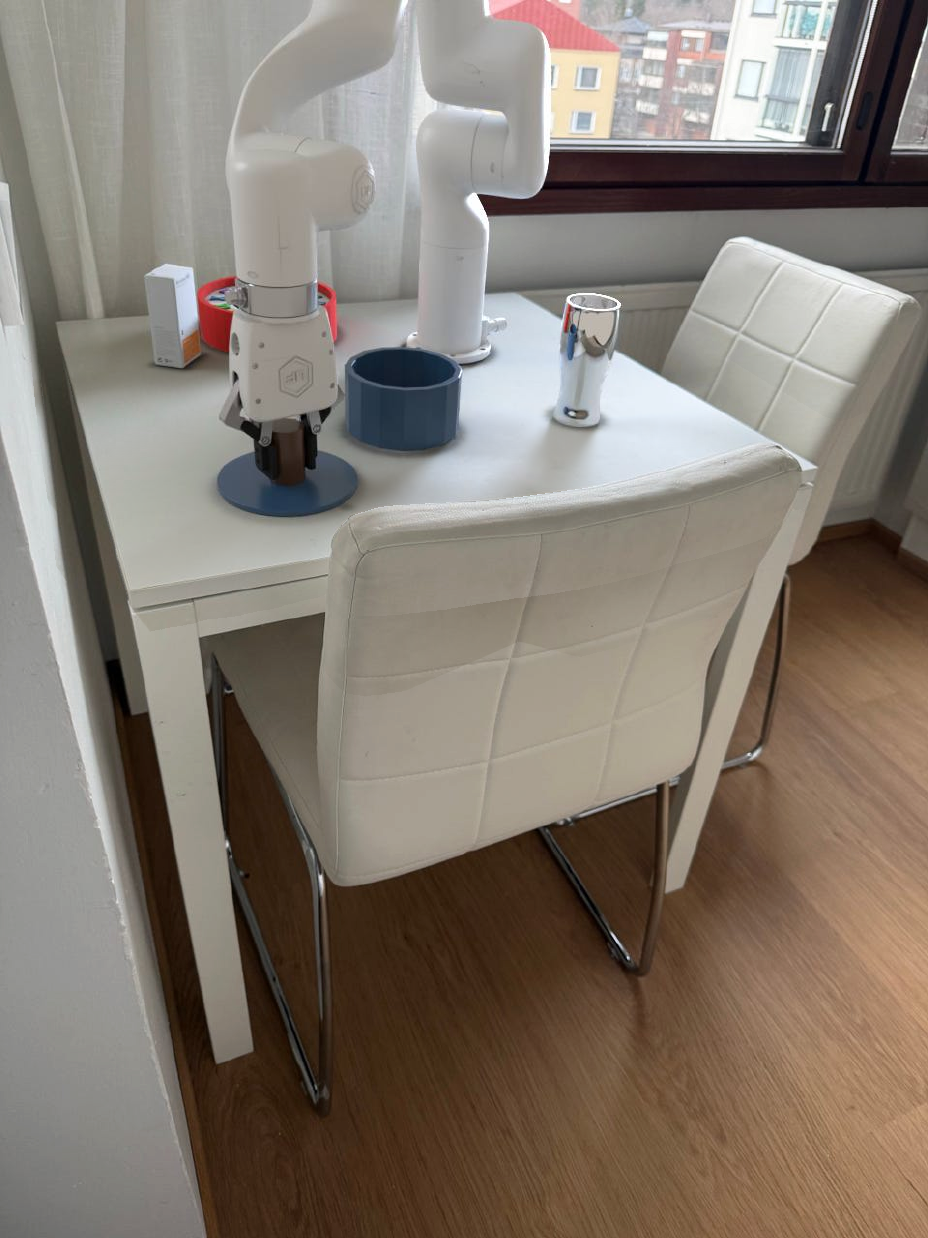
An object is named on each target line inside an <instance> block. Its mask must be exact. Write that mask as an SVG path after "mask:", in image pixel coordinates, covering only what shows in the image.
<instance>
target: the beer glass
mask: <svg viewBox="0 0 928 1238" xmlns="http://www.w3.org/2000/svg"><path fill="white" fill-rule="evenodd" d="M620 308H621V303H620V302H619V301H618V300H617V299H615V298H613V297H610V296H607V295H602V294H596V293H576V294H571V295H568V296H567V297H566V299H565V306H564V310H563V315H562V320H561V326H560V332H559V342H558V361H559V362H558V363H559V393H558V397H557V400H556V403H555V406H554V409H553V416H552V417H553V418H554V420H556V421H557V422H558V423H560V424H562V425H565V426H568V427H573V428H590V427H593V426H596V425H598V424H599V423H600V420H601V396H602V395H601V394H602V390H603V387H604V383H605V380H606V377H607V375H608V372H609V368H610V366H611V362H612V359H613V357H614V353H615V349H616V344H617V339H618V332H619V323H620V322H619V321H620Z"/></svg>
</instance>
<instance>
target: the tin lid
mask: <svg viewBox="0 0 928 1238" xmlns="http://www.w3.org/2000/svg"><path fill="white" fill-rule="evenodd" d="M271 442H272V443H274V444H275V445H276V448H277V464H278V478H277V479H275V480H270V479H269V478H268V477H267V476H266V475H265V474H263V473H262V472H261V471H260V470H258V469H257V467H256V464H255V452H254V451H251V452H248V453H245V454H242V455H240V456H238V457H236V458H234V459H232V460H230V461H229V462H228V463H226V464H225V465H223V467H222V468H220V471H219V472H218V474H217V478H216V485H217V486H216V487H217V490H218V492H219V494H220V496H221V497H222V498H223V499H224V500H225V501H226V502H228V503H229V504H230V505H232V506H234V507H236V508H238V509H240V510H244V511H246V512H249V513H252V514H258V515H263V516H271V517H299V516H301V517H302V516H307V515H313V514H317V513H322V512H325V511H328V510H332V509H333V508H336V507H338V506H340V505H342V504H344V503H345V502H346V501H347V500H349V499H350V498H351V497H352V496H353V494H354V493H355V491H356V489H357V487H358V477H357V476H358V475H357V472H356V471H355V468H353V466H352V465H351V464H350V463H349V462H347V461H346V460H345V459H344V458H341V457H339V456H338V455H335V454H332V453H330V452H326V451H323V450H319V449H317V450H318V456H317V457H316V469H314V470H310V469H307V468H306V467H305V446H304V425H303V423H302V422H300V421H299V419H295V418H292V417H288V418H283V419H279V420H274V421H273V427H272V436H271Z"/></svg>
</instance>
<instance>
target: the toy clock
mask: <svg viewBox="0 0 928 1238" xmlns="http://www.w3.org/2000/svg"><path fill="white" fill-rule="evenodd" d="M236 276H237V275H232V276H231V275H230V276H227V277H222V278H217V279H214V280H212V281H209V282H207V283H204V285H202V286H201V287H200V288H198V289H197V293H196V299H197V309H198V320H199V330H200V337H201V339H202V340H203V342H204V343H206V344H207V345H208V346H209V347H212V348H214V349H216V350H219V351H221V352H225V353H228V354H229V347H230V333H231V324H232V318H233V312H234V310H237V309H239V307H238V306H236V305H228V304H227V303H226V301H225V295H224V294H225V291H227V290H232V288H235V278H237V277H236ZM318 305H321V306H323V307H324V308H326V311H327V314H328V318H329V323H330V327H331V332H332V337H333V343H335V342H336V340H337V338H338V313H337V307H338V306H337V293H336V291H335V290H334V289H333V288H332V287H331V286H329V285H327V284H325V283H323V282H320V281H318Z"/></svg>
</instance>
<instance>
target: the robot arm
mask: <svg viewBox="0 0 928 1238" xmlns="http://www.w3.org/2000/svg"><path fill="white" fill-rule="evenodd" d="M408 1H409V0H312V5H311V7H310V10H309V13H308V15H307V17H306V18H305V19H304V20H303V21H302V22H301V23H299V25H297V26H296V27H295V28H294V29H292V30H291V31H290V32H289V33H287V35H286V36H285V37H284V38H282V39H281V40H280V41H279V42H278V43H277V44H276V45H275V46H274V47H273V48H272V49H271V50H270V51H269V53H268V54H266V56H265V57H264V58H263V60H262V61H261V62H259V64H258V65H257V66H256V68H254V70H253V72H252V73H251V75H250V76H249V77H248V79H247V81H246V83H245V85H244V87H243V89H242V91H241V94H240V97H239V101H238V104H237V107H236V112H235V115H234V119H233V122H232V127H231V131H230V134H229V138H228V143H227V144H228V145H227V151H226V155H225V179H226V181H225V182H226V185H227V189H228V192H229V199H230V200H229V201H230V213H231V214H230V215H231V224H232V237H233V239H232V240H233V249H234V250H233V251H234V263H235V276H236V277H237V278H235V288H232V290H227V291H225V294H224V295H225V301H226V303H227V304H228V305H236V306H238V307H239V309H237V310H234V312H233V318H232V324H231V333H230V347H229V353H228V370H229V372H228V373H229V375H228V376H229V390H230V391H229V394H228V396H227V397H226V400H225V402H224V404H223V407H222V409H221V411H220V412H219V415H218V419H219V421H220V422H222V424H224V425H225V426H227V427H229V428H232V429H235V430H237V431H240V432H242V433H244V434H245V435H247V436H249V438H251V439H252V440H253V449H254V451H253V452H255V464H256V467H257V469H258V470H260V471H261V472H262V473H263V474H265V475H266V476H267V477H268V478H269V479H270V480H275V479H277V478H278V464H277V448H276V445H275V444H274V443H272V442H271V436H272V427H273V421H274V420H279V419H283V418H292V417H296V416H297V418H298V420H299V421H300V422H302V423H303V425H304V446H305V467H306V468H307V469H310V470H314V469H316V457H317V456H318V450H319V449H318V435H319V434H320V433H321V432H322V431H323V426H322V425H323V424H324V422H325V421H326V420H327V418H328V417H329V416H330V414H331V412H332V410H334V409H335V408H336V407H337V406H338V405H339V404H341V402H343V401H344V400H345V391H343V389H342V387H341V386H340V385H339V383H338V371H337V360H336V353H335V350H336V349H335V344H334V343H335V342H334V343H333V337H332V332H331V327H330V323H329V318H328V314H327V311H326V308H324V307H323V306H321V305H318V282H319V279H318V274H319V273H318V272H319V271H318V239H317V238H318V237H317V234H318V233H319V232H326V231H338V230H345V229H349V228H351V227H354V226H356V225H357V224H358V223H360V222H361V221H362V220H363V219H364V218H365V217H366V216H367V214H368V213H369V212H370V210H371V208H372V206H373V204H374V201H375V197H376V192H377V179H376V173H375V169H374V166H373V165H372V163H371V161H370V159H369V158H368V156H367V155H365V154H364V153H363V151H362V150H360V149H359V148H356V147H355V146H352V145H350V144H347V143H344V142H339V141H333V140H328V139H327V140H326V139H319V138H312V137H309V136H303V135H302V136H301V135H294V134H288V133H285V130H286V129H287V126H288V124H289V123H290V121H291V120H292V119H293V117H294V116H295V114H296V113H298V111H299V110H300V109H301V108H302V107H303V106H305V105H306V104H307V103H308V102H310V101H311V100H313V99H315V98H317V96H319V95H322V94H323V93H325V92H327V91H330V90H333V89H335V88H339V87H340V86H343V85H346V84H348V83H351V82H353V81H355V80H358V79H361V78H363V77H366V76H367V75H370V74H373V73H374V72H378V71H379V70H380V69H382V68H384V67H385V66H386V65H387V64H389V62H390V61H391V60H392V58H393V56H394V54H395V51H396V48H397V43H398V40H399V37H400V32H401V30H402V29H401V28H402V24H403V20H404V18H405V12H406V9H407V7H408V6H407V5H408ZM414 2H415V14H416V26H417V39H418V51H419V63H420V71H421V79H422V82H423V86H424V89H425V91H426V93H427V95H428V96H429V97H430V98H431V99H433V100H434V101H436V102H439V103H441V104H445V105H450V106H455V107H462V108H455V107H454V108H453V107H450V108H441V109H437V110H434V111H432V112H430V113H429V114H427V116H425V117H424V119H423V120H422V121H421V123H420V124H419V127H418V130H417V134H416V141H415V142H416V143H415V149H416V150H415V152H416V163H417V170H418V180H419V188H420V189H419V191H420V235H419V237H420V238H419V263H418V264H419V265H418V289H417V290H418V291H417V293H418V294H417V320H416V321H417V322H416V331H414V332H412V333H410V334H409V335H408V336H407V337H406V338H405V339H406V340H405V347H408V348H416V349H424V350H429V351H432V352H436V353H440V354H443V355H445V356H447V357H449V358H451V359H452V360H454V361H456V362H457V363H458V365H464V364H471V363H476V362H479V361H483V360H484V359H486V358H488V356H489V355H490V354H491V347H492V345H491V342H490V341H489V340H488V339H487V337H489V336H490V335H491V333H498V332H503V331H505V330H506V329H507V327H508V323H507V320H506V318H505V317H497V318H493V319H490V318H489V316H488V315H484V306H485V305H484V303H485V291H486V279H487V267H488V266H487V264H488V254H489V253H488V252H489V242H490V241H489V240H490V225H489V221H488V220H489V219H488V217H487V213H486V211H485V210H484V207H483V205H482V203H481V201H480V199H479V197H478V195H488V196H494V197H501V198H507V199H517V200H518V199H519V200H524V199H530V198H533V197H534V196H536V195H537V194H538V193H539V192H541V191H540V190H541V189H542V188H543V186H544V183H545V180H546V178H547V173H548V167H549V156H550V128H551V127H550V126H551V124H550V123H551V86H552V85H551V84H552V83H551V80H552V75H551V74H552V73H551V72H552V68H551V65H552V63H551V53H550V48H549V47H550V46H549V43H548V40H547V38H546V35H545V33H544V32H543V31H542V30H541V28H539V27H538V26H537V25H534V24H532V23H529V22H525V21H520V20H510V19H501V18H495V17H493V16H492V14H491V13H490V10H489V9H490V8H489V0H414ZM466 108H467V109H466ZM468 108H469V109H468ZM473 109H474V110H473ZM475 109H477V110H475ZM483 110H485V111H483ZM488 111H489V112H488ZM490 111H491V112H490ZM494 112H500V113H503V114H500V113H494ZM242 410H243V411H244V413H245V415H246V416H247V417H248V418H249V419H247V418H246V417H244V416H241V412H242Z"/></svg>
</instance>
